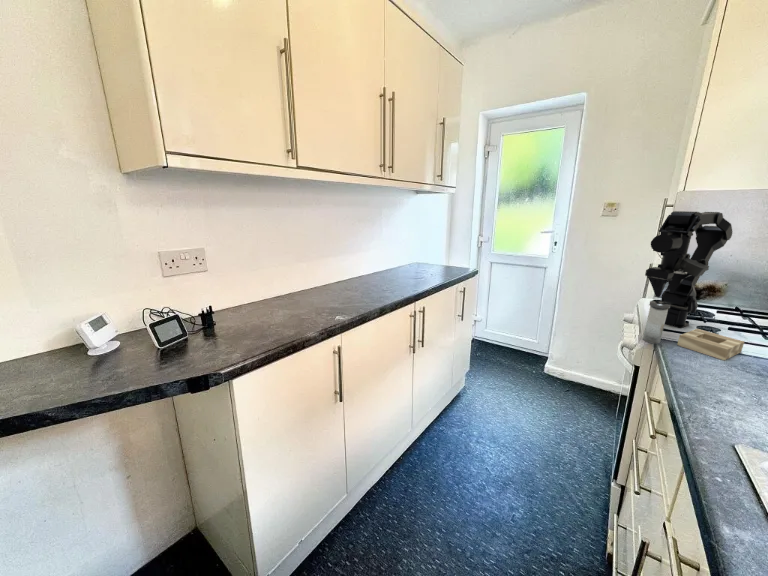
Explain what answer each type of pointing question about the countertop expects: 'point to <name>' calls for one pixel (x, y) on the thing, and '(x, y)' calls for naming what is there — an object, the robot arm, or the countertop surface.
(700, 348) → the housing
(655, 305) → the capped cylinder
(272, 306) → the countertop surface
